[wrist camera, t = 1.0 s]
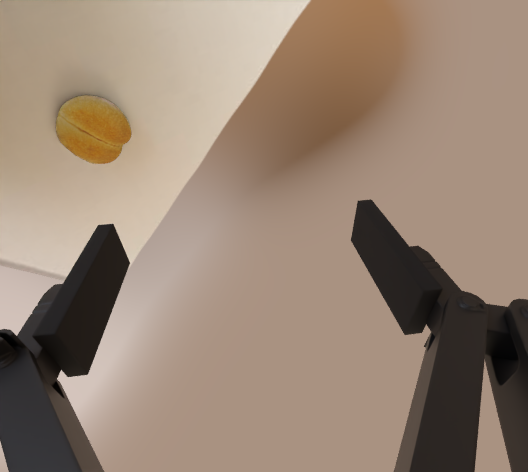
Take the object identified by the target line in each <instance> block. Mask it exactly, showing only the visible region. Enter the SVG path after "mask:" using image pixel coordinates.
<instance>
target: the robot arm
mask: <svg viewBox="0 0 528 472" xmlns="http://www.w3.org/2000/svg"><path fill="white" fill-rule="evenodd" d="M351 241H352V243H353V245H354V247H355V248H356V250H357V252H358V254H359V255H360V257H361V259H362V261H363V262H364V264H365V266H366V268H367V269H368V271H369V273H370V275H371V276H372V278H373V280H374V282H375V283H376V285H377V287H378V289H379V290H380V292H381V294H382V296H383V298H384V299H385V301H386V303H387V305H388V306H389V308H390V310H391V312H392V313H393V315H394V317H395V318H396V320H397V322H398V324H399V326H400V327H401V329H402V331H403V333H404V334H405V335H408V334H416V333H422V332H423V330H424V327H425V325H426V324H427V326H428V327H429V329H430V330H431V334H430V336H429V337H428V339H427V341H426V343H425V345H424V347H426V350H425V354H424V358H423V362H422V366H421V370H420V373H419V377H418V381H417V385H416V389H415V393H414V397H413V400H412V404H411V408H410V412H409V416H408V420H407V423H406V427H405V432H404V435H403V439H402V442H401V446H400V450H399V454H398V458H397V462H396V466H395V470H394V472H474V470H475V459H476V448H477V437H478V426H479V414H480V402H481V392H482V380H483V369H484V358H485V362H486V366H487V371H488V375H489V378H490V383H491V387H492V391H493V396H494V400H495V404H496V408H497V412H498V417H499V421H500V425H501V429H502V433H503V437H504V442H505V446H506V450H507V454H508V458H509V463H510V467H511V471H512V472H528V300H526V299H516V300H513V301H512V302H511V303H510V305H509V306H508V307H505V306H497V305H490V304H486V303H485V302H484V301H483V300H482V299H480V298H479V297H478V296H476V295H474V294H472V293H468V292H464V291H461V290H460V288H459V287H458V286H457V285H456V284H455V283H454V281H453V280H452V279H451V278H450V277H449V276H448V275H447V273H446V272H445V271H444V270H443V269H442V268H441V267H440V265H439V264H438V263H437V262H435V259H434V258H433V257H432V256H431V255H430V254H429V253H428V252H427V251H425V250H424V249H422V248H421V247H419V246H413V247H412V246H411V247H409V246H408V244H407V243H406V242H405V241H404V239H403V238H402V237H401V236H400V235H399V233H398V232H397V231H396V230H395V228H394V227H393V226H392V225H391V223H390V222H389V221H388V220H387V218H386V217H385V216H384V215H383V213H382V212H381V211H380V210H379V208H378V207H377V206H376V205H375V204H374V202H373V201H372V200H362V201H358V203H357V209H356V215H355V220H354V227H353V232H352V237H351ZM129 264H130V262H129V260H128V257H127V255H126V253H125V250H124V248H123V246H122V243H121V241H120V239H119V236H118V234H117V232H116V229H115V227H114V224H106V225H98V226H97V228H96V230H95V231H94V233H93V235H92V236H91V238H90V240H89V241H88V243H87V245H86V246H85V248H84V250H83V251H82V253H81V255H80V256H79V258H78V260H77V261H76V263H75V265H74V266H73V268H72V270H71V271H70V273H69V275H68V276H67V278H66V280H65V281H64V283H63V284H57V285H54V286H53V287H51V288H50V289H49V290H48V291H47V292H46V293H45V294H44V295H43V297H42V298H41V299H40V301H39V303H38V306H36V307H35V309H34V310H33V312H32V313H33V314H31V315H30V317H29V318H28V320H27V321H26V323H25V324H24V326H23V327H22V329H21V331H20V332H19V334H18V335H17V336H16V335H15V334H14V333H13V332H12V331H11V330H7V329H2V330H0V441H1V445H2V448H3V452H4V456H5V459H6V463H7V467H8V470H9V472H104V470H103V469H102V466H101V465H100V462H99V461H98V459H97V457H96V454H95V452H94V450H93V448H92V446H91V444H90V442H89V440H88V438H87V436H86V434H85V432H84V430H83V428H82V426H81V424H80V422H79V420H78V418H77V416H76V414H75V412H74V410H73V408H72V406H71V404H70V402H69V400H68V398H67V396H66V393H65V391H64V389H63V388H62V385H61V384H60V382H59V381H58V380H57V377H58V375H59V373H60V371H61V370H62V371H63V372H64V373H65V374H66V375H67V377H72V376H80V375H87V374H88V372H89V370H90V367H91V365H92V362H93V360H94V357H95V354H96V351H97V349H98V346H99V344H100V341H101V338H102V336H103V333H104V330H105V328H106V325H107V322H108V320H109V317H110V314H111V312H112V309H113V307H114V304H115V301H116V298H117V296H118V293H119V291H120V288H121V285H122V283H123V280H124V277H125V275H126V272H127V270H128V267H129Z"/></svg>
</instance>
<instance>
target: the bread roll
mask: <svg viewBox="0 0 528 472" xmlns="http://www.w3.org/2000/svg"><path fill="white" fill-rule="evenodd" d="M56 132H57V136H58V138H59V140H60V142H61V143H62V144H63V145H64V146H65V147H66V148H67V149H68V150H70V151H71V152H72V153H73V154H74V155H76V156H78V157H79V158H82V159H83V160H86V161H87V162H89V163H93V164H97V163H98V164H105V163H109V162H112V161H113V160H115V159H116V158H117V157H118V156H119V154H120V153H121V150H122V146H123V144H125V143H127V142H128V141H129V140H130V138H131V129H130V125H129V123H128V121H127V119H126V117H125V116H124V114H123V113H122V112H121V110H120V109H119V108H118V107H117V106H116V105H115V104H113V103H112V102H110V101H108V100H106V99H104V98H101V97H96V96H90V95H83V96H77V97H74V98H72V99H70V100H69V101H67V102H66V103H64V104H63V105H62V107H61V108H60V110H59V114H58V116H57V120H56Z"/></svg>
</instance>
